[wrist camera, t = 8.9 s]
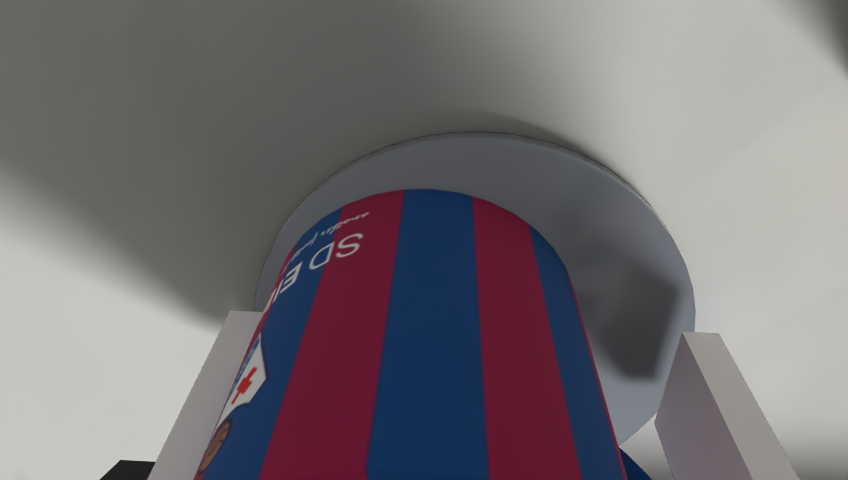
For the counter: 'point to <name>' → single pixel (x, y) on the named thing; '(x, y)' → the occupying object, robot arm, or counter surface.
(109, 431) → the counter surface
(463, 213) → the mug
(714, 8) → the counter surface
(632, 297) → the slate coaster
